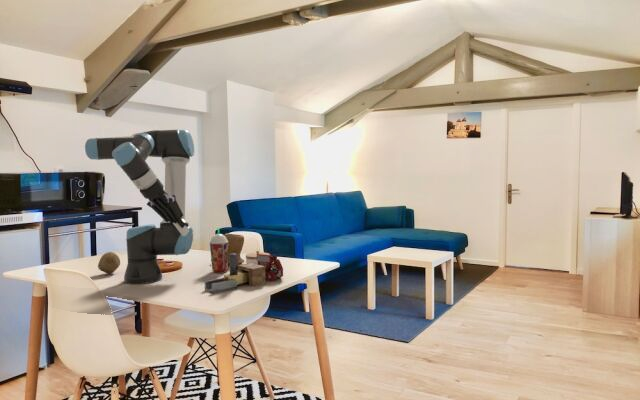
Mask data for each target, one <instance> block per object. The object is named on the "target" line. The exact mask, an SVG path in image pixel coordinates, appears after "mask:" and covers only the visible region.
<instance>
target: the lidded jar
mask: <svg viewBox="0 0 640 400" xmlns="http://www.w3.org/2000/svg"><path fill="white" fill-rule="evenodd" d="M258 254H264V255H271V254H270V253H269V252H260V251H259V250H256V252H251V253H247V254H245V262H246V263H245V264H247V263H252V264H256V265H258V261H257V255H258Z"/></svg>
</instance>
